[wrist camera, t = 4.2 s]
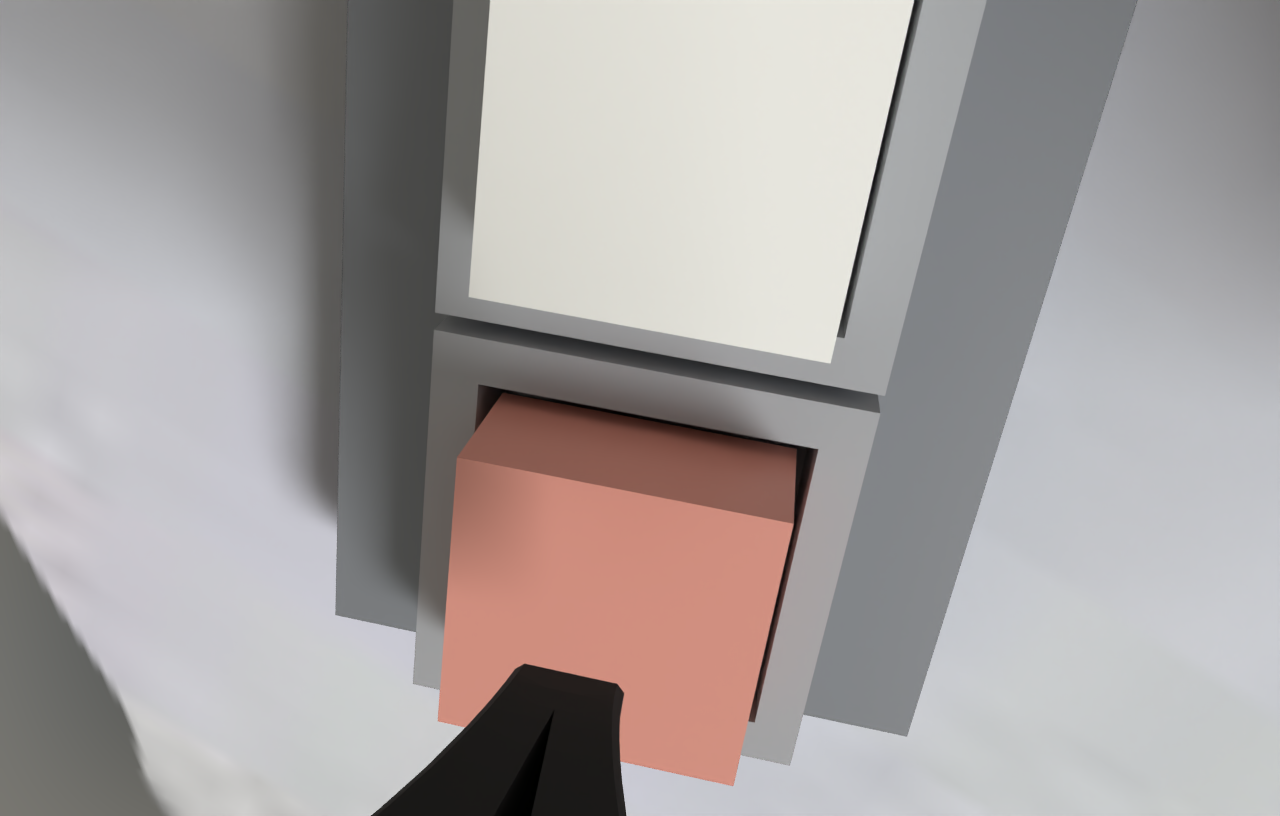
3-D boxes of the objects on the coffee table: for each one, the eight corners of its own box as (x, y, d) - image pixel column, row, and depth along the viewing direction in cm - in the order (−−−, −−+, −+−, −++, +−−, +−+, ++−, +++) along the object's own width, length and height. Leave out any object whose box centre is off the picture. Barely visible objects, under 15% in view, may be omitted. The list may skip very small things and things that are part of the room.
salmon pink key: (796, 448, 17) (793, 523, 15) (743, 688, 19) (733, 785, 17) (502, 392, 18) (457, 457, 15) (481, 633, 20) (438, 721, 18)
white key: (907, -42, 14) (923, -40, 12) (828, 306, 16) (830, 363, 14) (547, -96, 15) (497, -105, 12) (515, 249, 17) (468, 296, 14)
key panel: (1313, -740, 14) (1522, -1030, 10) (898, 660, 23) (915, 810, 19) (435, -822, 15) (290, -1116, 11) (380, 553, 24) (292, 674, 20)
